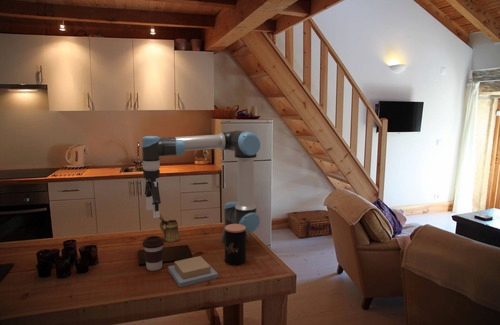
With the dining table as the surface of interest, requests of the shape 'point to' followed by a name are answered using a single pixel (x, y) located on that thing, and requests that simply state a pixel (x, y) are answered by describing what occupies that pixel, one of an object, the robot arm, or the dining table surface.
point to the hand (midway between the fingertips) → (152, 213)
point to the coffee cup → (153, 252)
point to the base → (191, 280)
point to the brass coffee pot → (170, 230)
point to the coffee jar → (235, 244)
